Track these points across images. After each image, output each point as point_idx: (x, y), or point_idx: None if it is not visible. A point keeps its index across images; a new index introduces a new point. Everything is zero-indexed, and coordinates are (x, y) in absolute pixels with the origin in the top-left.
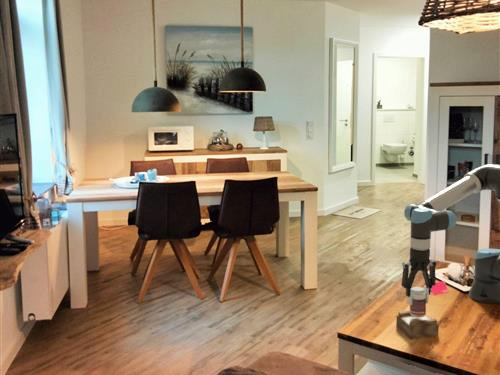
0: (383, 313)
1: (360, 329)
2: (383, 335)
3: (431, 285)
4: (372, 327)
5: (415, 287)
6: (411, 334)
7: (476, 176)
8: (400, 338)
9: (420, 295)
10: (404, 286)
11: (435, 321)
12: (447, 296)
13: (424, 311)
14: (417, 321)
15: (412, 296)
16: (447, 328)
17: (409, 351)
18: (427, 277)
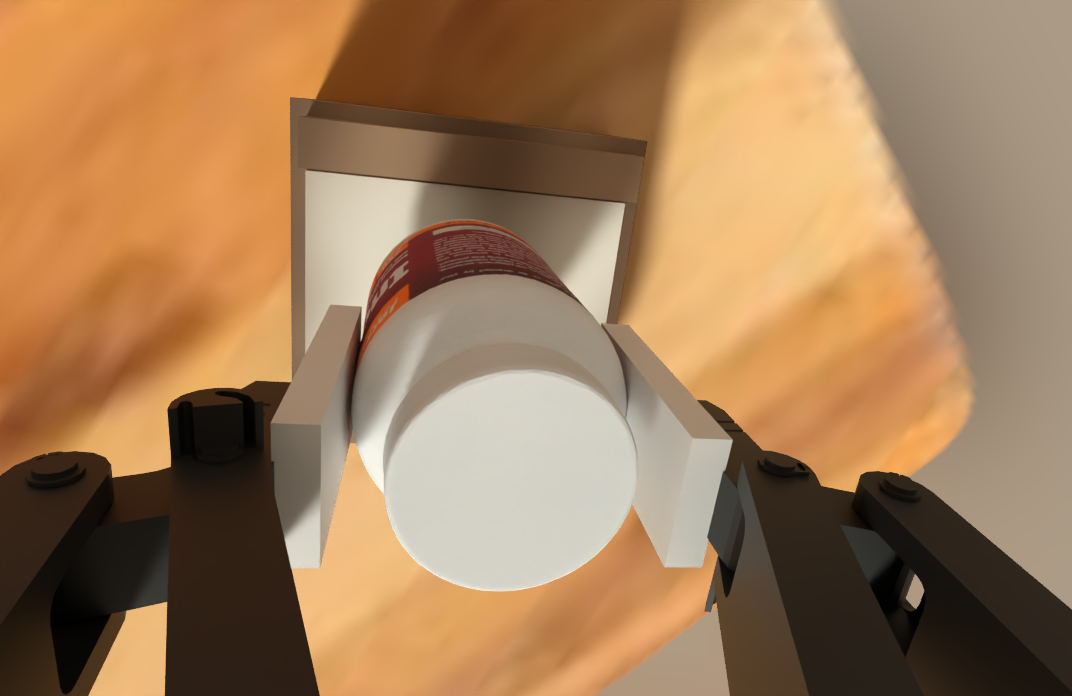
0: (526, 619)
1: (848, 424)
2: (764, 282)
3: (152, 482)
4: (750, 431)
5: (516, 561)
6: (613, 136)
7: None
8: (675, 185)
9: (512, 338)
10: (935, 497)
11: (323, 118)
12: None
13: (428, 236)
14: (550, 176)
15: (643, 375)
16: (120, 222)
17: None
18: (247, 651)
